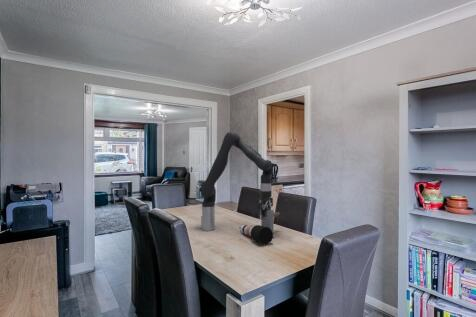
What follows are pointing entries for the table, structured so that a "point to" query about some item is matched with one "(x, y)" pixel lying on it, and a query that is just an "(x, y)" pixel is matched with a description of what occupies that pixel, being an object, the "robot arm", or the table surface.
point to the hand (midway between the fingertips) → (265, 214)
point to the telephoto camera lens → (258, 233)
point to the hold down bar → (266, 213)
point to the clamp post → (269, 221)
